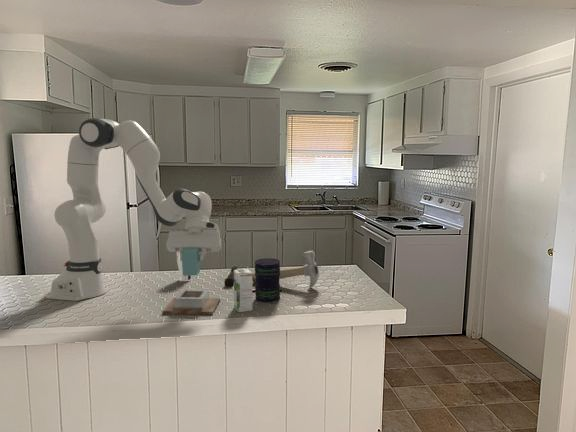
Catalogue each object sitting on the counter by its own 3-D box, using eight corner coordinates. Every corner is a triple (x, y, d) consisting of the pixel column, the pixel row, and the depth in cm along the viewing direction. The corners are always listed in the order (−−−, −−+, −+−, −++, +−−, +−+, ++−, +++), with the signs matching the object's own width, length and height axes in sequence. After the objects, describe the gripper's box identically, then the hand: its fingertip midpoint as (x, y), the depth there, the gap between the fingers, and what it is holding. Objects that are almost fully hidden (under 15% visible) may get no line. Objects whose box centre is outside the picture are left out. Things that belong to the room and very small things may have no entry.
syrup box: (233, 307, 163) (232, 269, 160) (248, 305, 165) (248, 268, 163) (237, 312, 157) (236, 273, 155) (253, 310, 159) (252, 272, 157)
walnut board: (162, 314, 156) (162, 311, 156) (174, 301, 170) (173, 298, 170) (212, 314, 155) (212, 311, 155) (220, 301, 169) (220, 298, 169)
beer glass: (191, 282, 194) (190, 249, 192) (175, 282, 194) (174, 249, 192) (195, 277, 201) (193, 245, 199) (179, 277, 201) (178, 245, 199)
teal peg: (182, 275, 158) (181, 251, 157) (186, 271, 163) (185, 247, 162) (196, 275, 158) (195, 251, 157) (199, 271, 163) (198, 247, 162)
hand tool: (233, 287, 187) (233, 276, 187) (224, 287, 188) (224, 276, 187) (241, 275, 206) (241, 265, 205) (233, 274, 206) (233, 265, 206)
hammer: (247, 261, 191) (311, 252, 179) (252, 259, 195) (314, 249, 183) (255, 296, 192) (319, 289, 180) (260, 293, 196) (322, 286, 184)
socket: (175, 309, 158) (174, 298, 157) (182, 299, 168) (182, 289, 167) (202, 309, 157) (202, 298, 157) (208, 300, 167) (208, 289, 167)
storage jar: (268, 292, 180) (268, 257, 177) (285, 298, 173) (285, 261, 170) (249, 298, 173) (249, 261, 170) (266, 304, 166) (266, 266, 163)
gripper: (167, 224, 167) (160, 255, 158) (221, 224, 166) (217, 255, 158) (171, 233, 172) (165, 264, 163) (224, 233, 171) (220, 264, 163)
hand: (191, 260), depth 160 cm, fingers closed on teal peg, 5 cm apart
